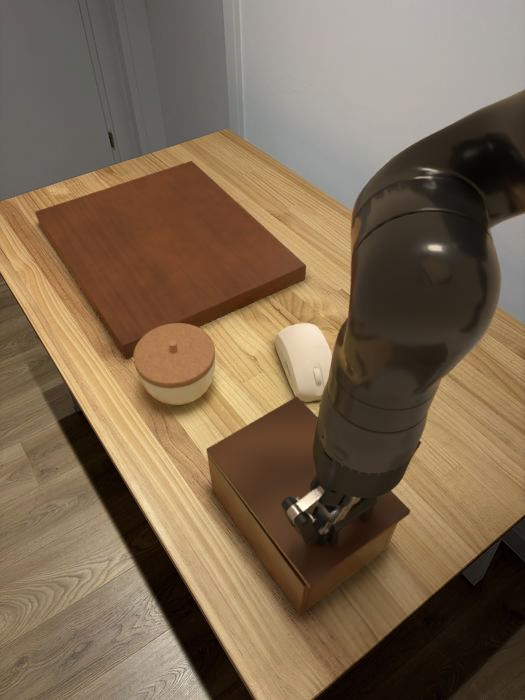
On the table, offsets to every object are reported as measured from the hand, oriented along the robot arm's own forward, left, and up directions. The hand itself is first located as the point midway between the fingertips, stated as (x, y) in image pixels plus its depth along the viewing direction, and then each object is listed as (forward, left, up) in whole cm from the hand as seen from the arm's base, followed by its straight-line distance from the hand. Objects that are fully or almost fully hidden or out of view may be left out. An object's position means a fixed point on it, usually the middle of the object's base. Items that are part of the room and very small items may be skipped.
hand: (339, 519), depth 54 cm
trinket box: (+17, -26, -11) cm, 33 cm away
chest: (+3, -5, -11) cm, 12 cm away
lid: (+3, -5, -1) cm, 6 cm away
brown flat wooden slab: (+20, -58, -11) cm, 62 cm away
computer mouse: (-1, -28, -11) cm, 30 cm away
